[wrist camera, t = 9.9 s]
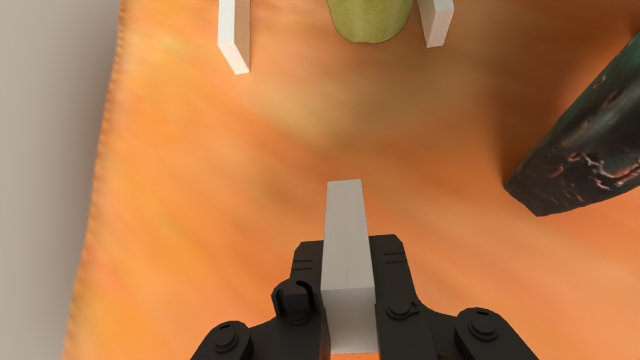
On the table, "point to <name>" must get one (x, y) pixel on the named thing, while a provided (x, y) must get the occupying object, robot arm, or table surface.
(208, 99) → the table surface
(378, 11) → the plant pot
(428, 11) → the white u-shaped frame
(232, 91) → the table surface
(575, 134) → the ceramic cat
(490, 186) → the table surface
